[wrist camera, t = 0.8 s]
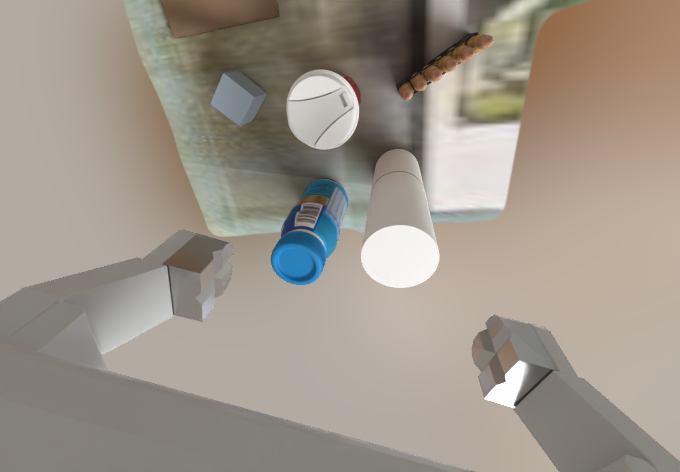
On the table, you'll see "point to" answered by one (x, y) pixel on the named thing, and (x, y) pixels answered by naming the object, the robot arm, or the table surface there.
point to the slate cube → (238, 97)
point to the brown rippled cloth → (215, 14)
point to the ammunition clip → (443, 63)
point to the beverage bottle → (310, 233)
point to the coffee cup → (323, 108)
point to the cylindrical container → (399, 224)
